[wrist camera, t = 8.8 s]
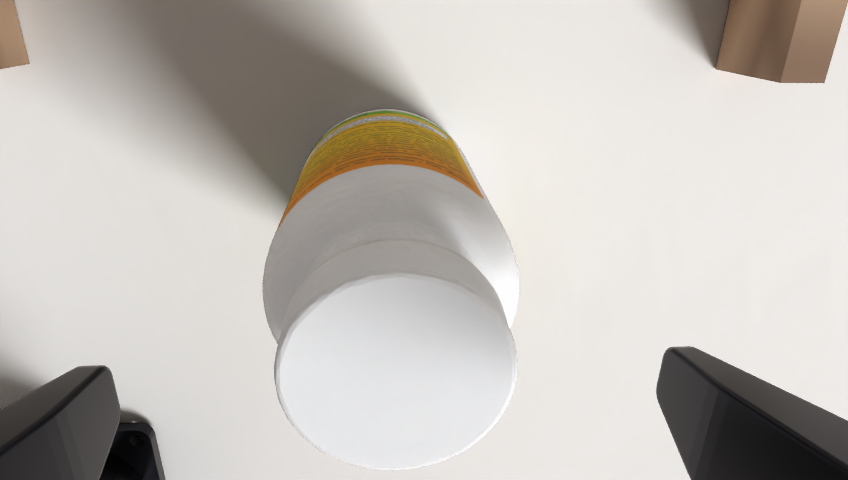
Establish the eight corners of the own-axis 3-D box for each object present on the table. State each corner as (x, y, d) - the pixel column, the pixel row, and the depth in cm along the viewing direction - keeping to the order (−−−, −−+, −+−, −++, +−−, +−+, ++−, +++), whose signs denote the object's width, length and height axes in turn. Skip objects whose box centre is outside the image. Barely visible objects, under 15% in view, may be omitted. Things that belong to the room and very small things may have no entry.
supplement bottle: (266, 168, 17) (149, 347, 8) (412, 70, 16) (453, 154, 8) (365, 294, 19) (355, 546, 10) (500, 212, 18) (614, 411, 10)
